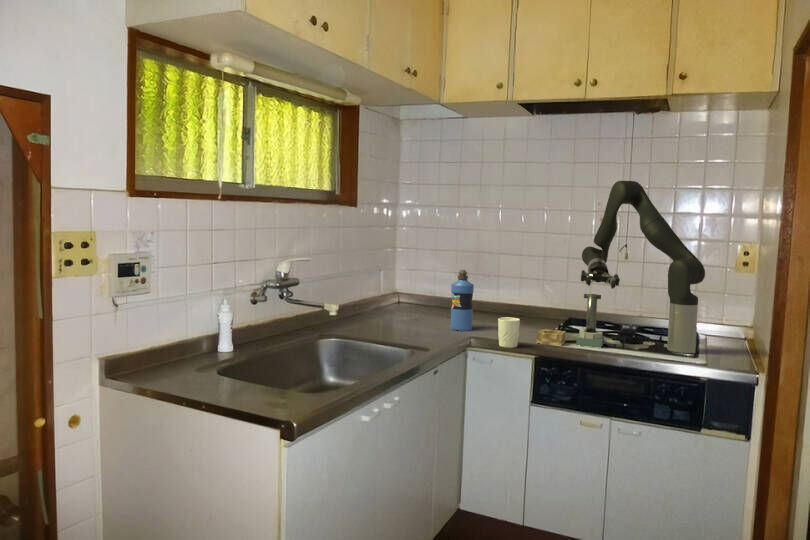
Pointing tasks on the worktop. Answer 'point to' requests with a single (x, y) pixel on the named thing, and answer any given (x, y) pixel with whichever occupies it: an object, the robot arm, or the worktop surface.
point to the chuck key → (591, 312)
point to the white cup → (508, 331)
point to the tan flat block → (551, 337)
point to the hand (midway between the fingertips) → (601, 285)
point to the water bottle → (462, 303)
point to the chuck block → (592, 339)
